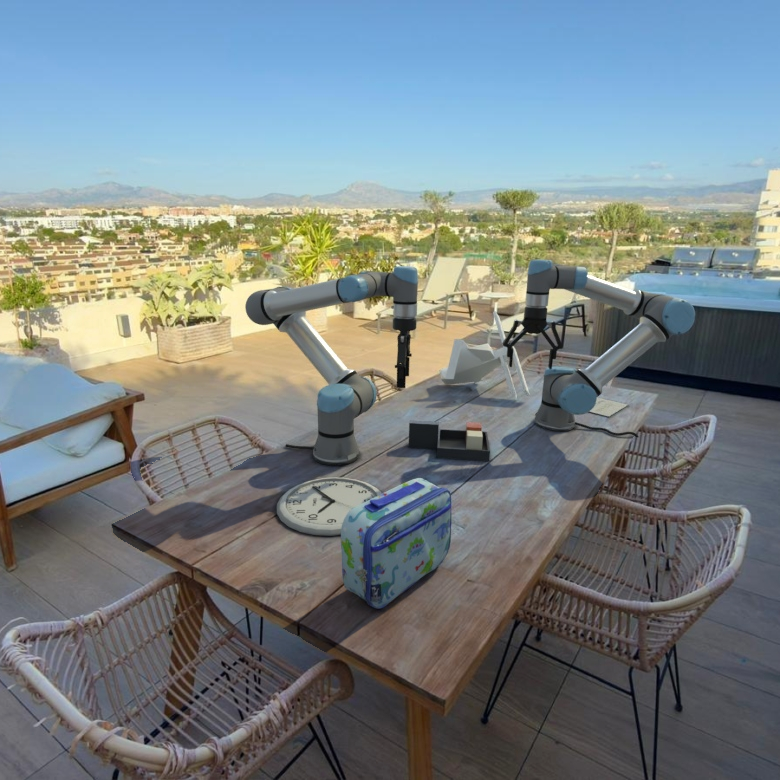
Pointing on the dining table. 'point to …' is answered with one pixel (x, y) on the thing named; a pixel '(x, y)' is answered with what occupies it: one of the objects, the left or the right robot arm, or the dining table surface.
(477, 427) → the terracotta block
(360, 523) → the lunch box
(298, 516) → the wall clock
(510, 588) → the dining table surface
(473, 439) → the cream block
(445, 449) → the tray
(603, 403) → the invitation card
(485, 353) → the white plastic object
